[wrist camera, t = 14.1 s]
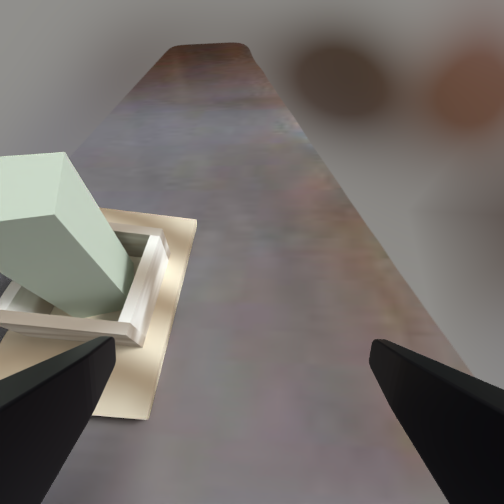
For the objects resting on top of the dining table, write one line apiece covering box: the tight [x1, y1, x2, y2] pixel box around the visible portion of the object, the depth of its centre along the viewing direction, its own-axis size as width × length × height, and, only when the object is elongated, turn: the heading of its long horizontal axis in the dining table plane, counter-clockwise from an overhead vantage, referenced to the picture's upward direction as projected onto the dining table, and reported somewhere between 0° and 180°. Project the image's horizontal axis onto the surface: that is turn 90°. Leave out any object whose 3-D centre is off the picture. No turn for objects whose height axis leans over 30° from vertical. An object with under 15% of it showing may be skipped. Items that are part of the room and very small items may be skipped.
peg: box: [0, 152, 134, 318], centre depth 16 cm, size 4×4×12 cm
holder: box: [0, 208, 197, 420], centre depth 20 cm, size 18×12×5 cm, turn 176°
